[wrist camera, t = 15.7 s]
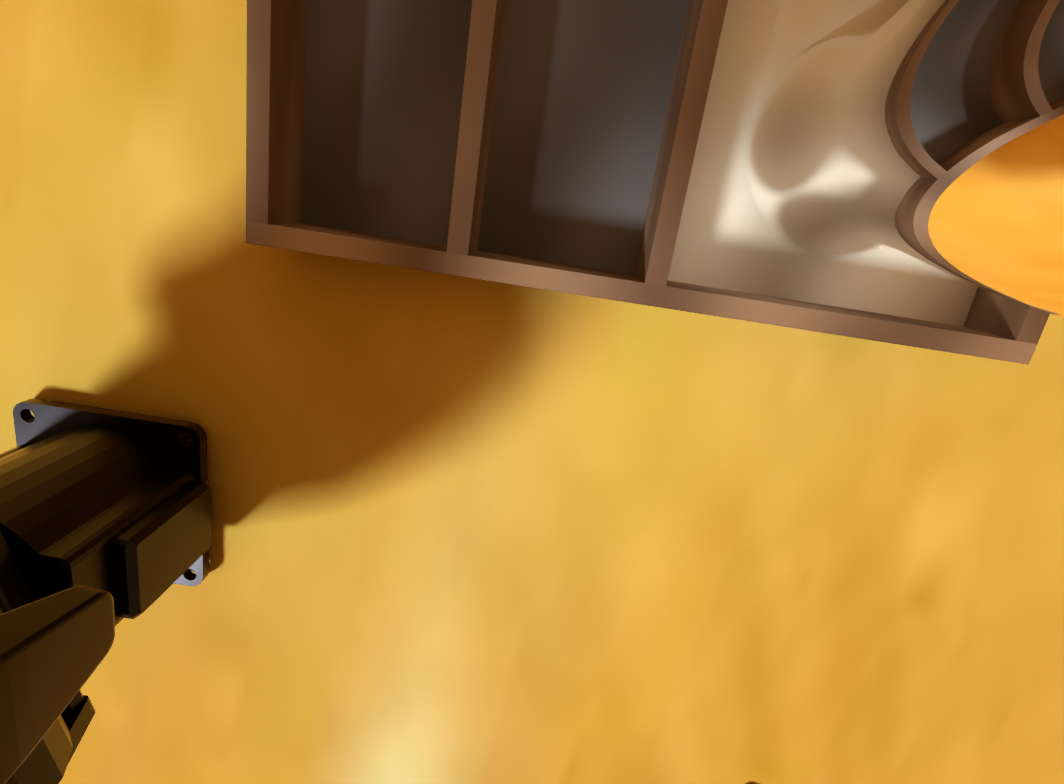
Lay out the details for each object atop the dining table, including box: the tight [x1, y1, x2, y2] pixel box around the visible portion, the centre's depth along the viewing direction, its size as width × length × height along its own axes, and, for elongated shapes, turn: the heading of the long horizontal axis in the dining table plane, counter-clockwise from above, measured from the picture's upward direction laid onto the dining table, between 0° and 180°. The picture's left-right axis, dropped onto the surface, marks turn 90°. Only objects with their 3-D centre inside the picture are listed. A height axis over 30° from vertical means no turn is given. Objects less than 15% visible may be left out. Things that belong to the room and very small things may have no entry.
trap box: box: [246, 0, 1050, 364], centre depth 16 cm, size 22×11×2 cm, turn 81°
